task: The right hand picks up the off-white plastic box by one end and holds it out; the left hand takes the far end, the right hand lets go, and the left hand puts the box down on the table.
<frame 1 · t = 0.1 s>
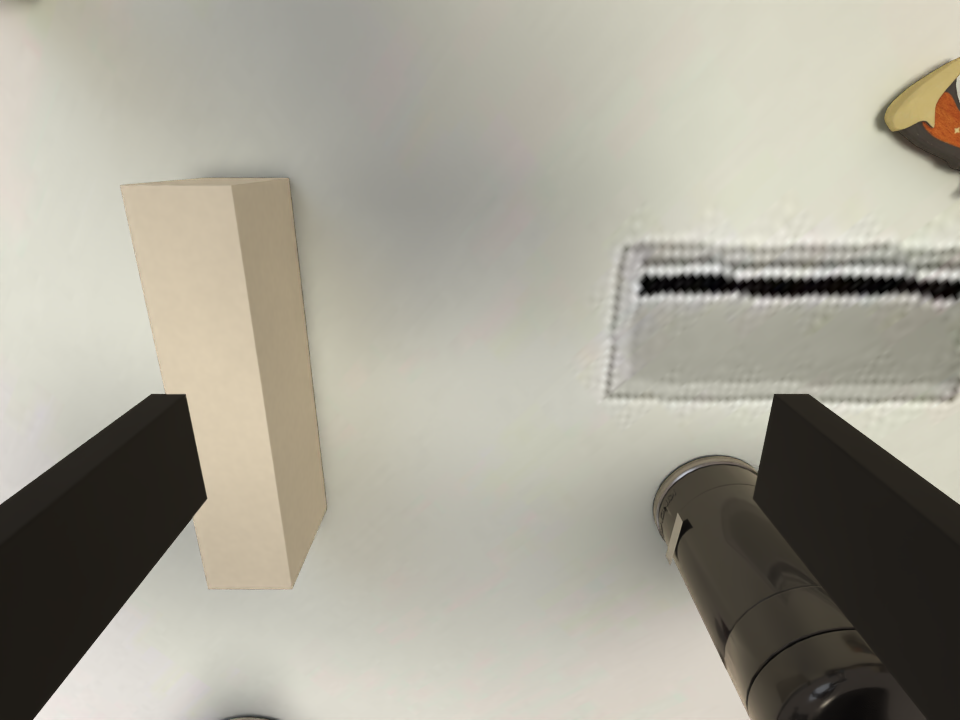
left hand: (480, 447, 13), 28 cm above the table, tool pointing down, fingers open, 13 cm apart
box: (272, 361, 42), on the table
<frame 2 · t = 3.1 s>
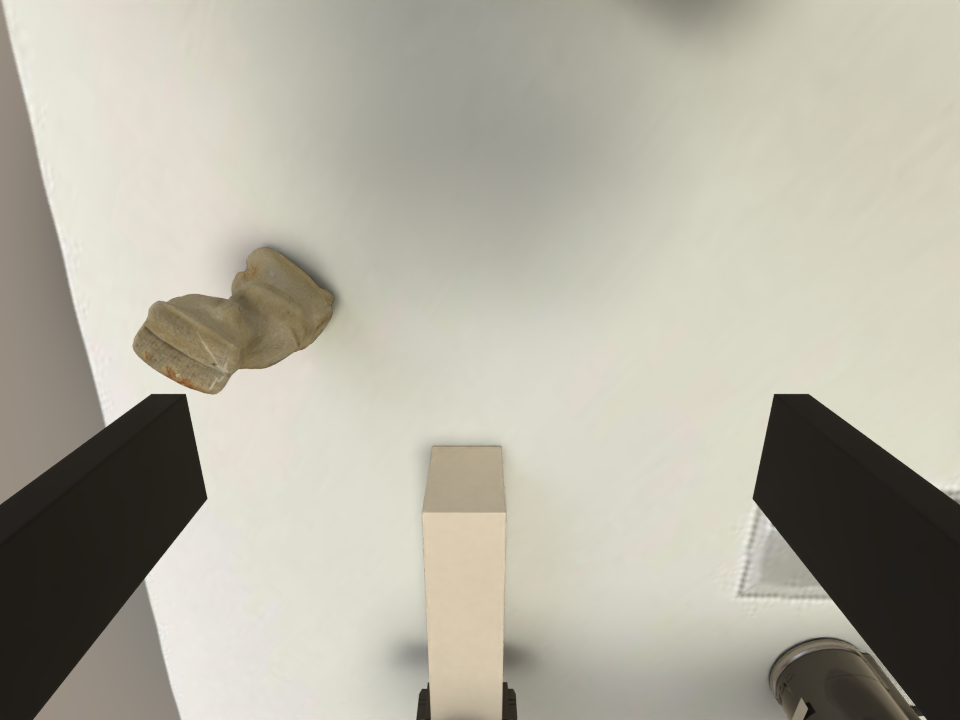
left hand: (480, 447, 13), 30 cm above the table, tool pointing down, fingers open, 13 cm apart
sculpture: (293, 290, 42), on the table
box: (468, 571, 51), on the table, touching right hand
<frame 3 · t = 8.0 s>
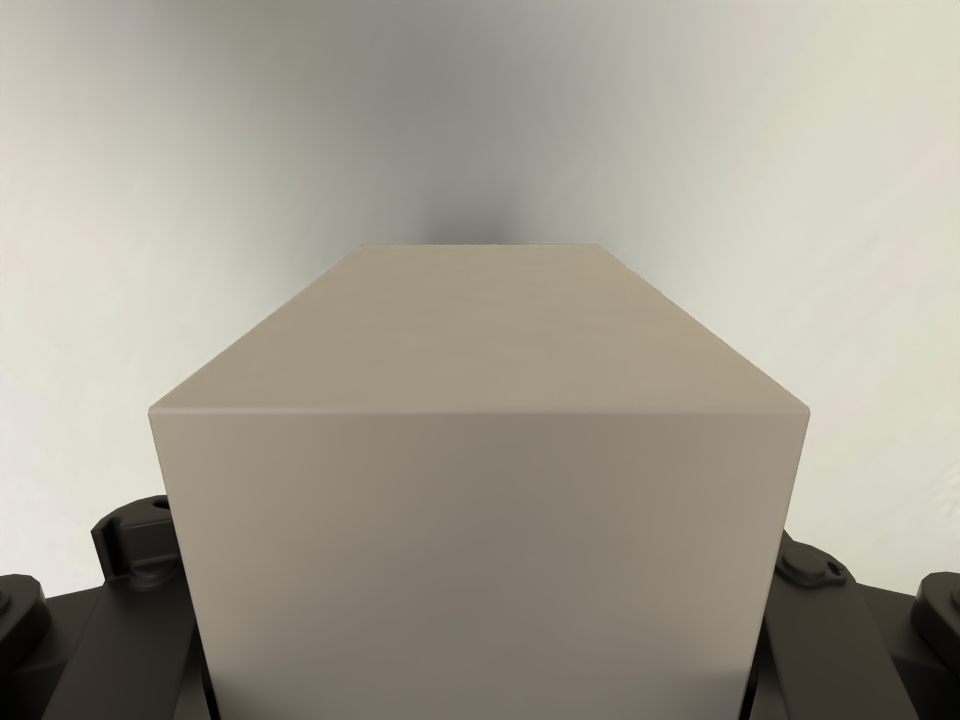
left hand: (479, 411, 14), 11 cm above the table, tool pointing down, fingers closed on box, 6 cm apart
box: (480, 652, 18), point 10 cm above the table, touching left hand, right hand
when the right hand's fingers open (15 cm above the table, at t = 9.0 s): box stays where it is, held by the left hand.
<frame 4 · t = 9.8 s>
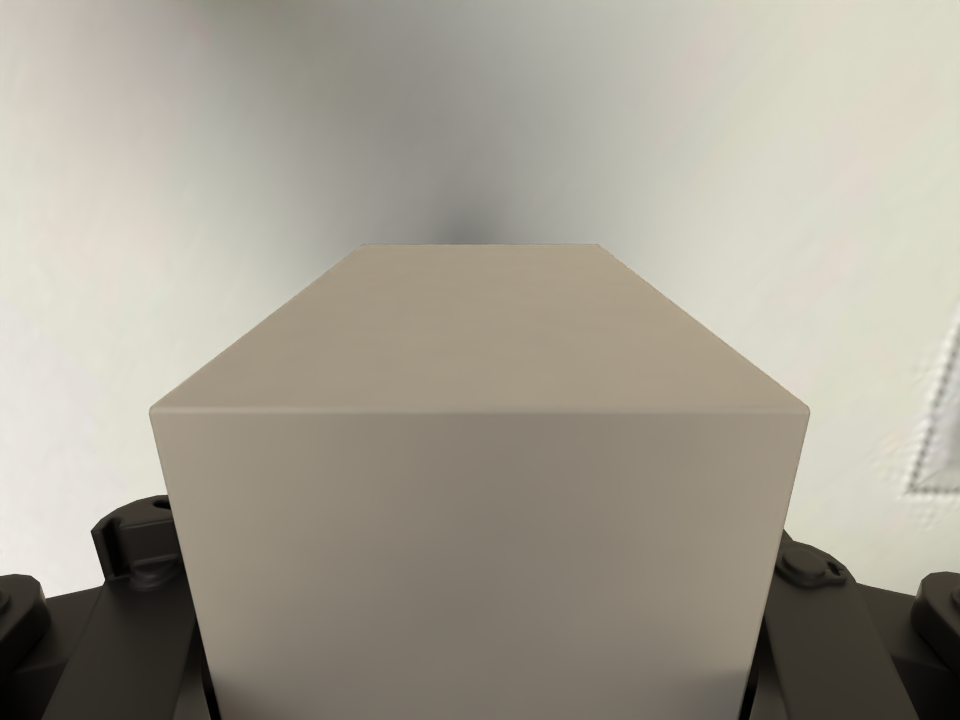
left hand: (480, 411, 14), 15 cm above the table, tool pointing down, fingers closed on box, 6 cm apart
box: (480, 652, 18), point 14 cm above the table, touching left hand
when the left hand's fingers open (2 cm above the table, at t = 20.7 s): box drops 2 cm, on the table.
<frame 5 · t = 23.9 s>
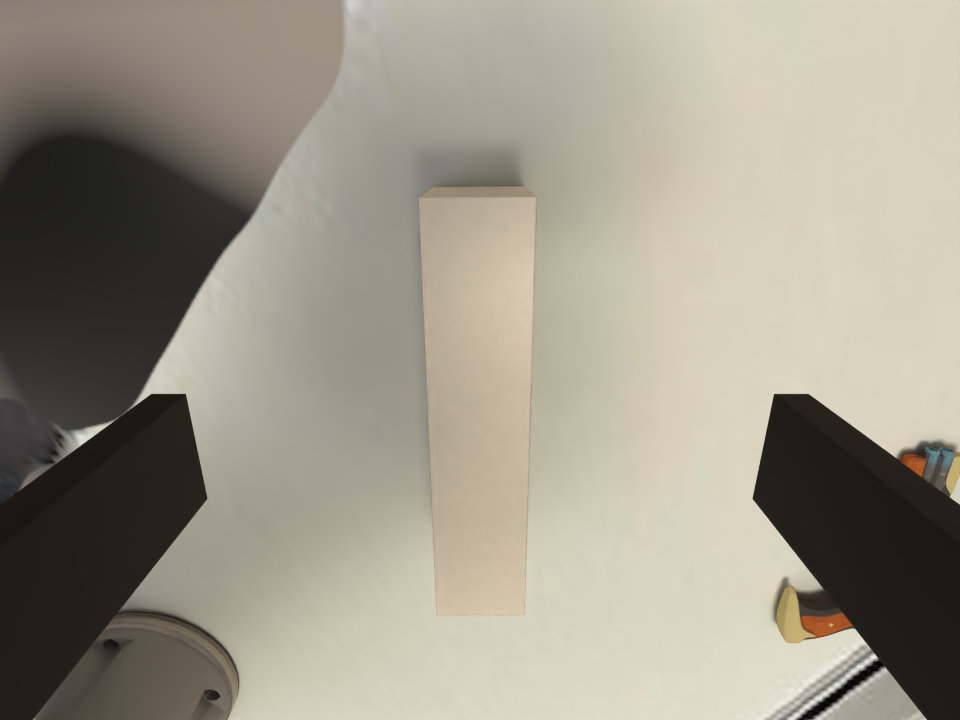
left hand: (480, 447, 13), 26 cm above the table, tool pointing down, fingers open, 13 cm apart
toy gun: (855, 541, 45), on the table
box: (479, 376, 40), on the table
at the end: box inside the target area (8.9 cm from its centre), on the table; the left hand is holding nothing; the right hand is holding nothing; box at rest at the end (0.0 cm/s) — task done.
